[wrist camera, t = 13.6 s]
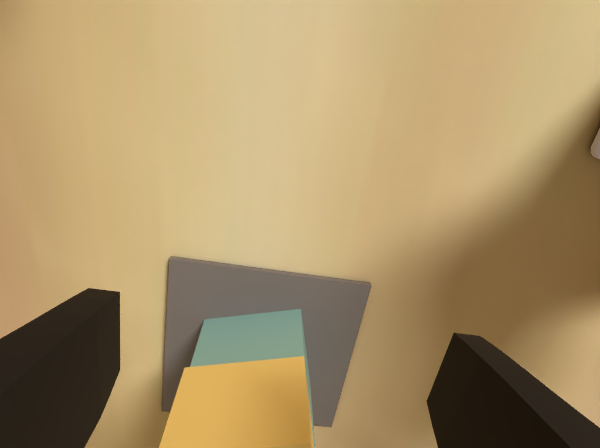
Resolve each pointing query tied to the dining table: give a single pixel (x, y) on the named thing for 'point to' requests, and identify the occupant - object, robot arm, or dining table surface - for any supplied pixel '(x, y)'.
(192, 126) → the dining table surface
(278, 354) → the teal brick
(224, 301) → the mat
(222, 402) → the mustard brick
